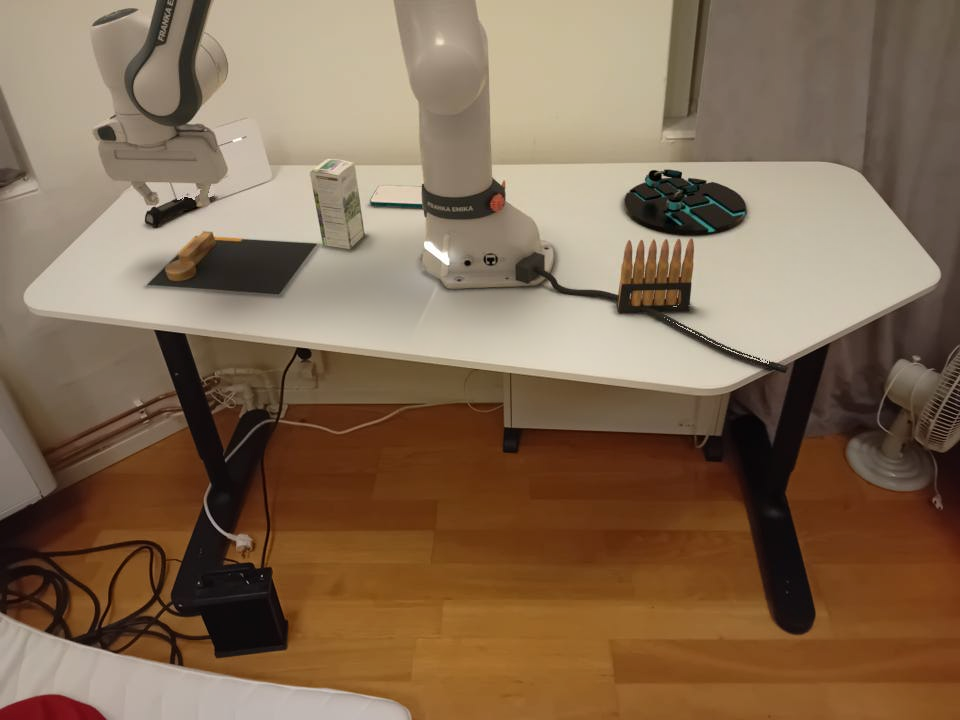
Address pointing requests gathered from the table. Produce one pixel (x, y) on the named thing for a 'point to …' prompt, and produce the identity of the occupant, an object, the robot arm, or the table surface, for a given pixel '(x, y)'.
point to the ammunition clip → (656, 279)
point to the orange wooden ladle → (190, 258)
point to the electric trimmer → (168, 210)
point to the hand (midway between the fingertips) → (178, 204)
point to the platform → (683, 205)
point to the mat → (243, 266)
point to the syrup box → (337, 203)
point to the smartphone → (397, 196)
